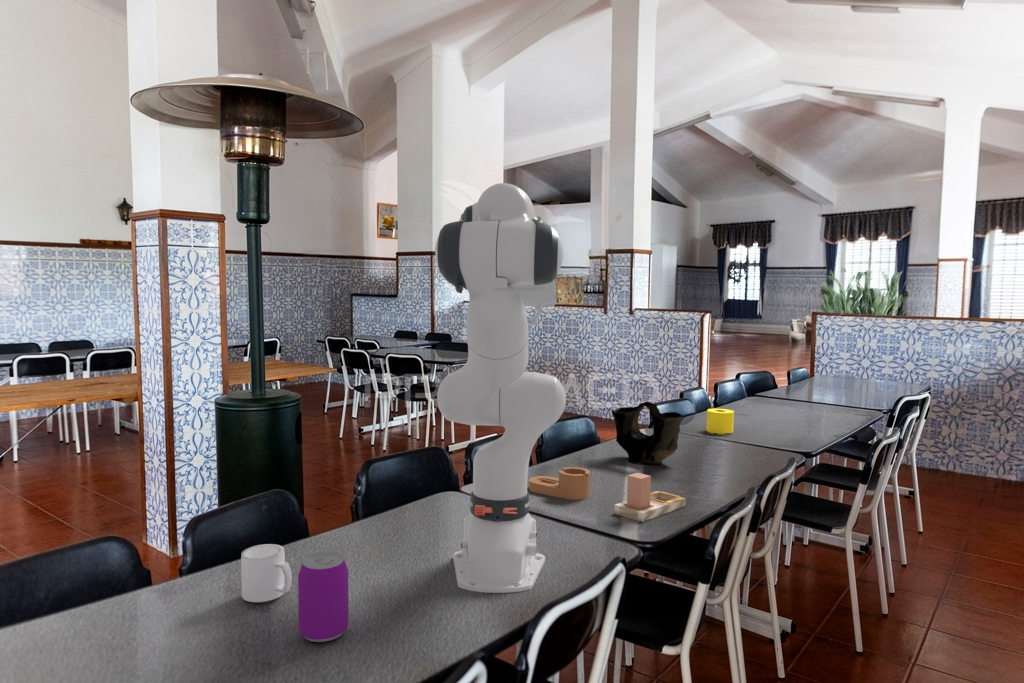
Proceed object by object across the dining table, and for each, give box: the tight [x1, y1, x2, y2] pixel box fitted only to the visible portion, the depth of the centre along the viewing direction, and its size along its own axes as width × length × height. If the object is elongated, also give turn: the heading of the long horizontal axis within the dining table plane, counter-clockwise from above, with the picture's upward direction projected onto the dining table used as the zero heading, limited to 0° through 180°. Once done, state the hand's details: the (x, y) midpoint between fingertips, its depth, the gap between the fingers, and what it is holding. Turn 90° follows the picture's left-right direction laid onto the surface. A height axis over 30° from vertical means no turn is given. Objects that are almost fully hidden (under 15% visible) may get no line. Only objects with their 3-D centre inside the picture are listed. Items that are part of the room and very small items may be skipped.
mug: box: [240, 543, 293, 603], centre depth 121 cm, size 10×7×8 cm
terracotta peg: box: [626, 472, 652, 511], centre depth 166 cm, size 4×4×10 cm
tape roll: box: [706, 408, 735, 435], centre depth 264 cm, size 10×10×9 cm
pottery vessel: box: [611, 401, 685, 466], centre depth 217 cm, size 25×11×20 cm, turn 47°
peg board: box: [613, 490, 686, 523], centre depth 170 cm, size 18×8×3 cm, turn 132°
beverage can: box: [297, 550, 350, 643], centre depth 108 cm, size 8×8×12 cm
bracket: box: [528, 466, 591, 501], centre depth 185 cm, size 18×8×7 cm, turn 54°
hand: (514, 324), depth 166 cm, fingers open, 8 cm apart
